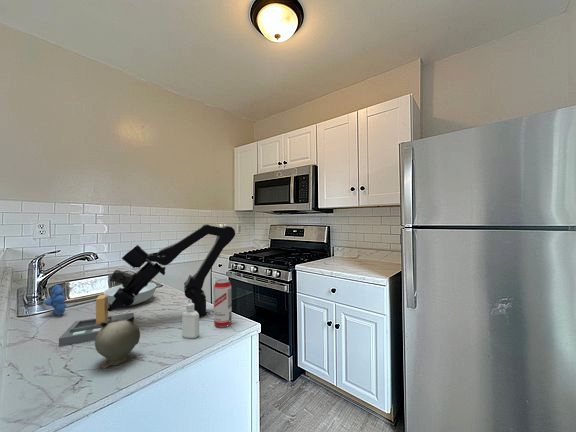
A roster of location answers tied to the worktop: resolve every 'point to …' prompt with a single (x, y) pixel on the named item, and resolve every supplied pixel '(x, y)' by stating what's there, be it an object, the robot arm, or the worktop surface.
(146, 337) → the worktop surface
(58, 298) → the grapes
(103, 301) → the switch tab
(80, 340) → the switch housing
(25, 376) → the worktop surface
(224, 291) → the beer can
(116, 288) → the serving bowl
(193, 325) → the eye dropper bottle
